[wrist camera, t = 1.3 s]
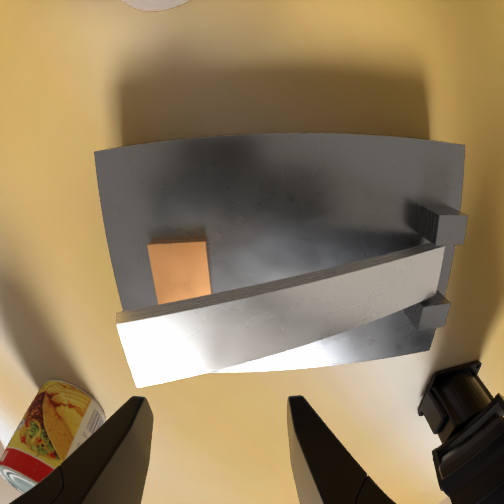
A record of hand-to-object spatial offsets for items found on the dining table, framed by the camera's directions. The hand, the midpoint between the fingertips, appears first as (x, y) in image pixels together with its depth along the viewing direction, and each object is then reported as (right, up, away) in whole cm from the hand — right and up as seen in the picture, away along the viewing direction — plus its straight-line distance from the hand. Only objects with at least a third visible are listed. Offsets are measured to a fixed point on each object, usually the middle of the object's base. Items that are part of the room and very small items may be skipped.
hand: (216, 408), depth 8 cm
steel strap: (+4, +2, +5) cm, 7 cm away
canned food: (-18, -12, +19) cm, 28 cm away
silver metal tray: (+3, +5, +12) cm, 13 cm away
